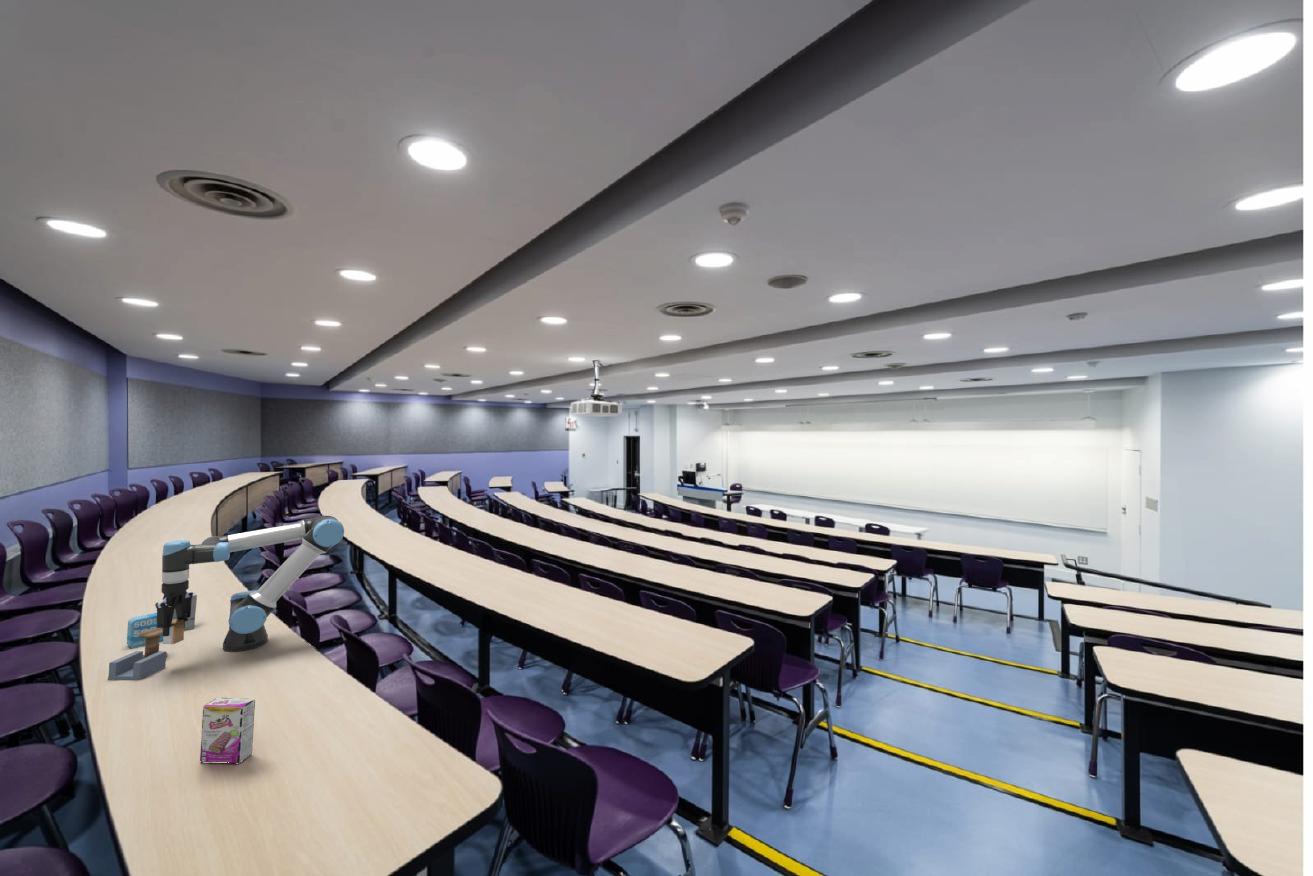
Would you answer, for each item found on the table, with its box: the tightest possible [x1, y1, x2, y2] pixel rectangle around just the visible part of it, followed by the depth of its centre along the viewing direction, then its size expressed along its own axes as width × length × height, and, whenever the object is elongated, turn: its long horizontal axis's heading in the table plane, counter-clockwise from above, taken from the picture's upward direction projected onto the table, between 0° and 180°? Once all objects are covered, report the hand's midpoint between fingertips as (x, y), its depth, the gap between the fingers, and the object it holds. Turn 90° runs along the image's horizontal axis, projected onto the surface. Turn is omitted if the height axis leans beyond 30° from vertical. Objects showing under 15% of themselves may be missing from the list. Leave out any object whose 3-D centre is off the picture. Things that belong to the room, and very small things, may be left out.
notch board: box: [107, 650, 167, 681], centre depth 183 cm, size 11×10×6 cm
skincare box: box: [169, 592, 198, 631], centre depth 225 cm, size 8×7×16 cm
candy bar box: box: [199, 697, 256, 765], centre depth 138 cm, size 11×5×16 cm, turn 92°
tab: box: [171, 619, 185, 645], centre depth 187 cm, size 4×4×8 cm
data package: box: [126, 612, 163, 649], centre depth 209 cm, size 12×4×12 cm, turn 150°
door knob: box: [138, 628, 168, 659], centre depth 195 cm, size 9×9×11 cm
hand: (173, 641), depth 187 cm, fingers closed on tab, 4 cm apart
